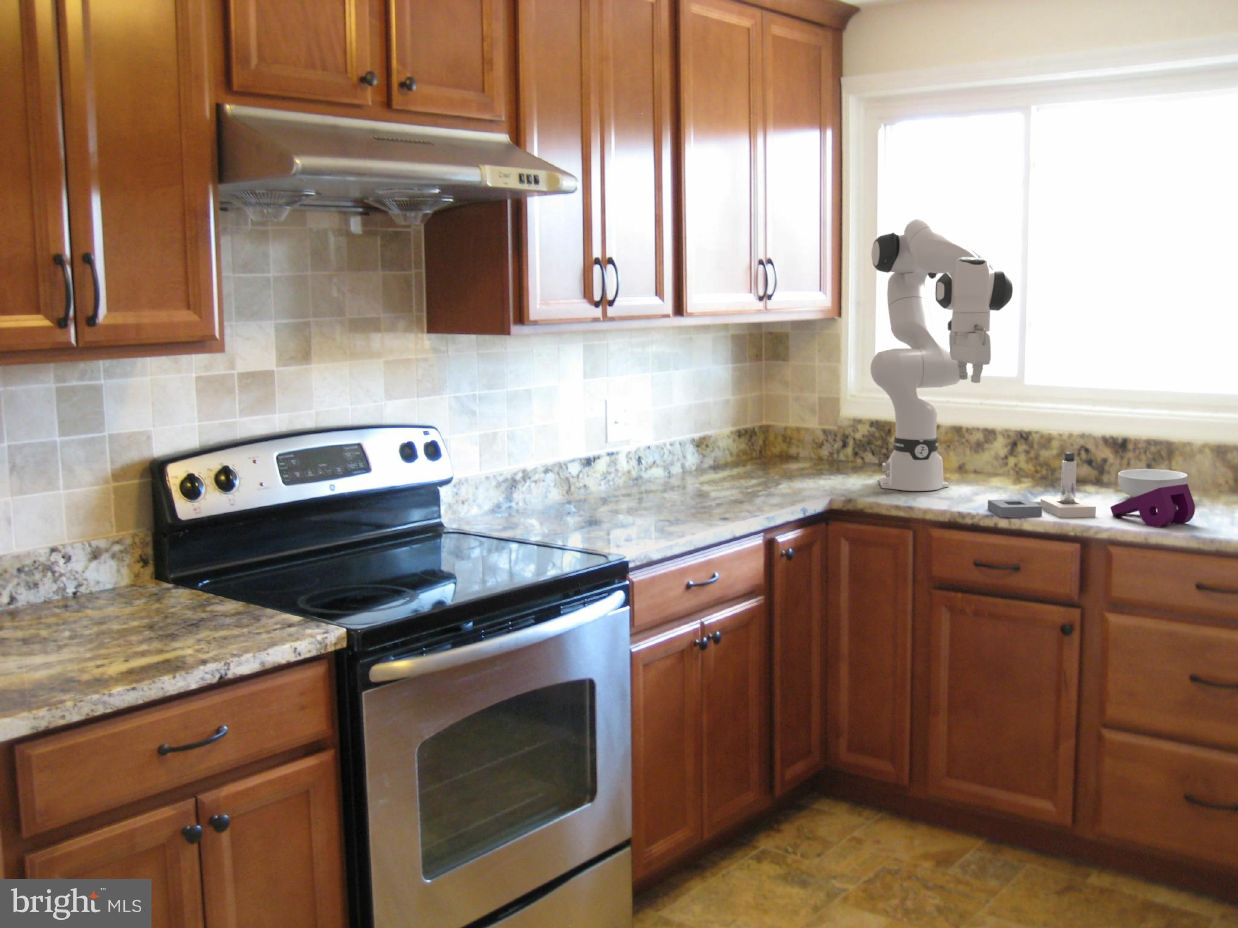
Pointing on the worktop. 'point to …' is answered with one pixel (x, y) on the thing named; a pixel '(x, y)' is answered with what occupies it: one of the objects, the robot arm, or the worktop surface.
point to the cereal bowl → (1148, 480)
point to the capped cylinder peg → (1068, 479)
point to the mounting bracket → (1160, 506)
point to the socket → (1015, 508)
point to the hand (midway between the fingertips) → (969, 381)
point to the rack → (1068, 508)
